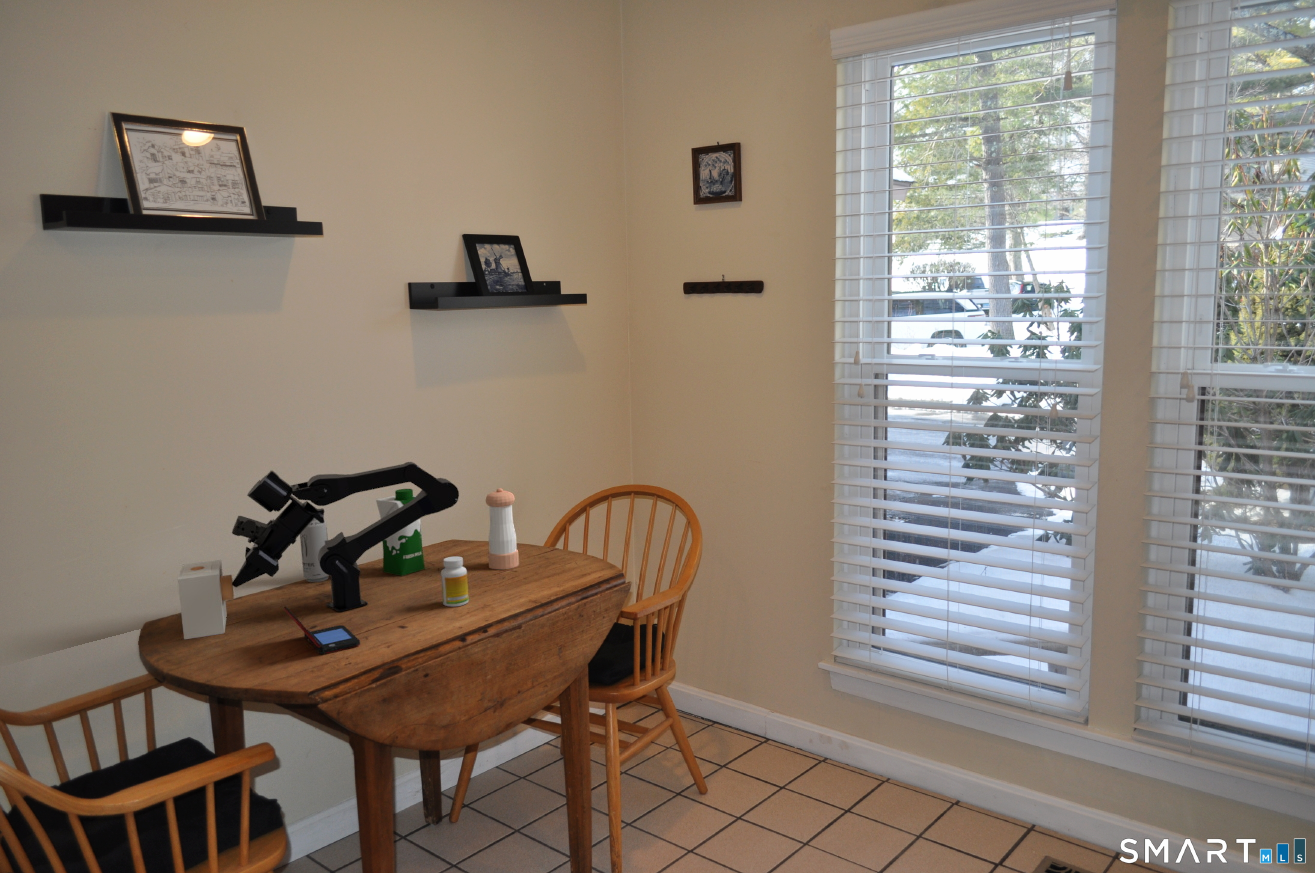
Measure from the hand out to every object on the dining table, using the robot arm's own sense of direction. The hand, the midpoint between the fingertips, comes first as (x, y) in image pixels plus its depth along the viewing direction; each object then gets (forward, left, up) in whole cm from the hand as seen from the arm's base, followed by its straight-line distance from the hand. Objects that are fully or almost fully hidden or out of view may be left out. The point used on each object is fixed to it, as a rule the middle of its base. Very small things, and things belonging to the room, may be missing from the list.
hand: (233, 585), depth 180 cm
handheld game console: (-26, -6, -8) cm, 28 cm away
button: (+1, +2, -3) cm, 4 cm away
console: (+2, +5, -8) cm, 10 cm away
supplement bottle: (-25, -36, -8) cm, 44 cm away
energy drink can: (+17, -25, -8) cm, 31 cm away
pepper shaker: (-9, -60, -8) cm, 61 cm away
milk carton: (+7, -42, -8) cm, 43 cm away
